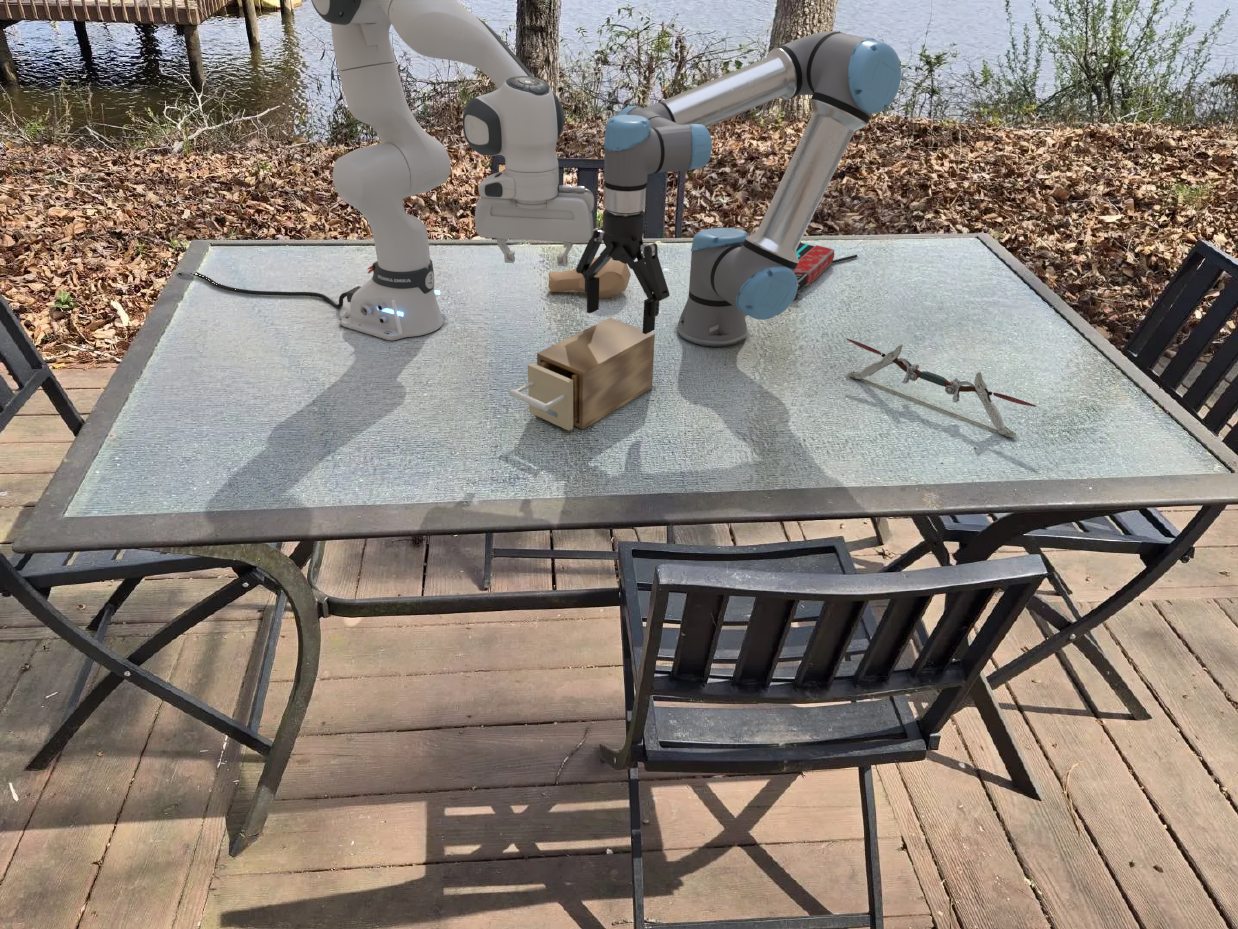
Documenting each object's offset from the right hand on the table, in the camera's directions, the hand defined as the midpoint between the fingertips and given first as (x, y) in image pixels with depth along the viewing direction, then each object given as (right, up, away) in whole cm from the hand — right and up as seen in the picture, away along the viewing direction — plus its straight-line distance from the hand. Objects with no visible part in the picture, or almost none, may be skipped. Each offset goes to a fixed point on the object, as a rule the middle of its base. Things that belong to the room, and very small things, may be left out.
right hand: (620, 321), depth 166 cm
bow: (+60, -16, +4) cm, 62 cm away
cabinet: (-4, -14, +3) cm, 15 cm away
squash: (-7, +14, +46) cm, 49 cm away
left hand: (-15, +8, -12) cm, 21 cm away
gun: (+42, +21, +59) cm, 75 cm away
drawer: (-9, -16, -1) cm, 19 cm away
